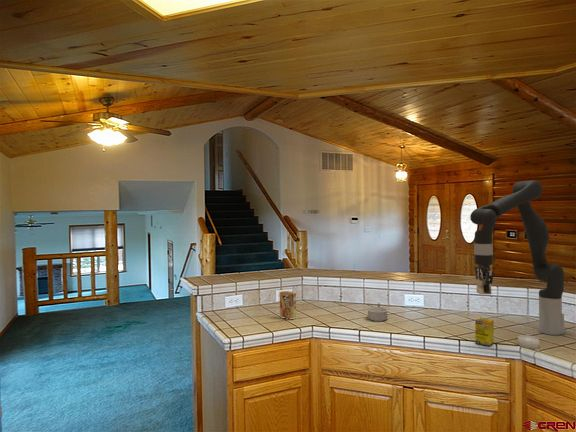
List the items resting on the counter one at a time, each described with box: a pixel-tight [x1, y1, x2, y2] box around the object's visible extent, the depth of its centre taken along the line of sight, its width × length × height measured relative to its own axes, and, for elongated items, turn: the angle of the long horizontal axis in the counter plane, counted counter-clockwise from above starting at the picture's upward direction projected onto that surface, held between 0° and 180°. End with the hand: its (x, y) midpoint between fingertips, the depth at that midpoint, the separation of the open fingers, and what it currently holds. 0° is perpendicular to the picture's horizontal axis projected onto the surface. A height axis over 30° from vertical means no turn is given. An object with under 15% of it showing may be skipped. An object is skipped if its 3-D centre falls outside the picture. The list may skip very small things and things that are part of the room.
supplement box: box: [474, 317, 495, 348], centre depth 174 cm, size 6×6×11 cm
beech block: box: [475, 278, 492, 295], centre depth 173 cm, size 4×4×6 cm
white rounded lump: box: [517, 334, 540, 350], centre depth 171 cm, size 8×8×4 cm
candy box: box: [279, 290, 298, 318], centre depth 220 cm, size 9×4×15 cm, turn 67°
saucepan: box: [366, 302, 389, 322], centre depth 220 cm, size 12×20×6 cm, turn 163°
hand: (484, 291), depth 173 cm, fingers closed on beech block, 4 cm apart
